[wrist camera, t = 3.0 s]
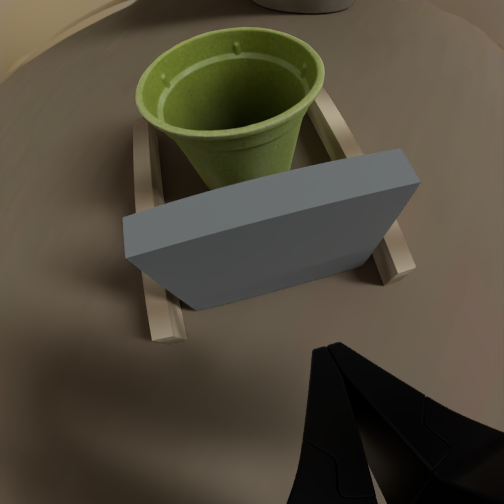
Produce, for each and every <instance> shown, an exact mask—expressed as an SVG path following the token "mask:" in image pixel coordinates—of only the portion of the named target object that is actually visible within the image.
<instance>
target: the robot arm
mask: <svg viewBox="0 0 504 504" xmlns="http://www.w3.org/2000/svg"><path fill="white" fill-rule="evenodd" d="M368 465H369V467H370V469H371V471H372V473H373V475H374V477H375V479H376V482H377V484H378V486H379V488H380V490H381V492H382V494H383V496H384V498H385V500H386V502H387V504H504V432H501V431H499V430H496V429H494V428H491V427H489V426H486V425H484V424H481V423H479V422H477V421H474V420H472V419H470V418H467V417H465V416H463V415H461V414H459V413H456V412H454V411H452V410H450V409H448V408H447V407H445V406H443V405H441V404H439V403H438V402H436V401H434V400H433V399H431V398H429V397H426V398H425V395H424V394H423V393H421V392H419V391H418V390H416V389H414V388H413V387H411V386H409V385H408V384H406V383H405V382H403V381H401V380H400V379H398V378H397V377H395V376H393V375H392V374H390V373H389V372H387V371H385V370H384V369H382V368H381V367H379V366H377V365H376V364H374V363H373V362H371V361H369V360H368V359H366V358H365V357H363V356H362V355H360V354H358V353H357V352H355V351H354V350H352V349H351V348H349V347H347V346H346V345H344V344H343V343H341V342H337V343H333V344H330V345H328V346H327V347H325V346H323V347H320V348H316V349H313V351H312V359H311V370H310V381H309V391H308V400H307V409H306V417H305V426H304V433H303V442H302V447H301V454H300V459H299V465H298V470H297V473H296V476H295V480H294V483H293V487H292V490H291V492H290V495H289V498H288V501H287V504H378V503H377V499H376V494H375V490H374V486H373V482H372V478H371V475H370V471H369V467H368Z"/></svg>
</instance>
